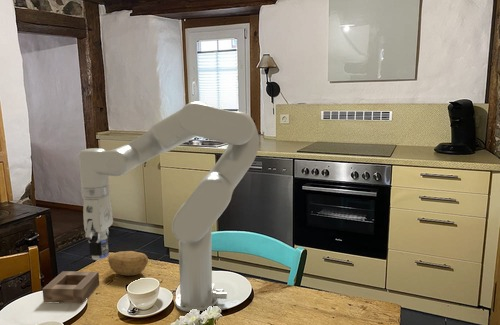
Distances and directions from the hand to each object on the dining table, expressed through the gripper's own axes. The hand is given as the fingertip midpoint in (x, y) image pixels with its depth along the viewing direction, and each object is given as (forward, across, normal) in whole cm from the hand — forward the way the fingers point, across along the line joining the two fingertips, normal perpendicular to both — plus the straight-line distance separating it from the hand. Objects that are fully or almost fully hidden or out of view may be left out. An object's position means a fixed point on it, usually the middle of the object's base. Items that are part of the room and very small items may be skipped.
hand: (100, 250), depth 117 cm
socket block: (+16, +5, +12) cm, 21 cm away
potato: (+16, +19, -1) cm, 25 cm away
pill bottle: (+2, 0, 0) cm, 2 cm away
